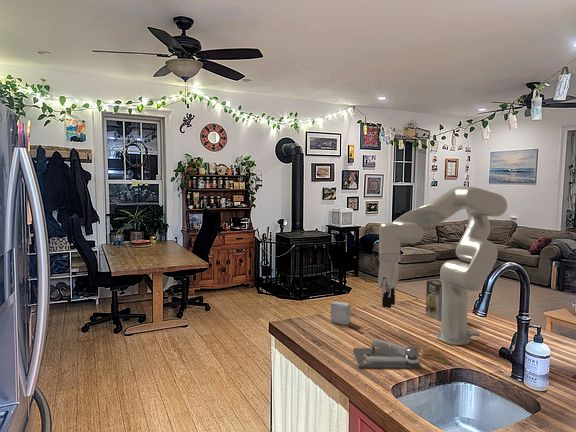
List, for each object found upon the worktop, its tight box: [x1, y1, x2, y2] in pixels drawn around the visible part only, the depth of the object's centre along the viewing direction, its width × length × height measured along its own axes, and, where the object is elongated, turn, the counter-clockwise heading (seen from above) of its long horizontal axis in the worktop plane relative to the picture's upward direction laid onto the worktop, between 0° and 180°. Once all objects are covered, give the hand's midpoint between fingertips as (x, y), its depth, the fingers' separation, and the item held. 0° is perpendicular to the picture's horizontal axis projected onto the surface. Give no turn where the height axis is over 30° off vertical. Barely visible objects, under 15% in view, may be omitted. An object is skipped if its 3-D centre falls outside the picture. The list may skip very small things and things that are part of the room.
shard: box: [419, 348, 451, 365], centre depth 145 cm, size 11×8×2 cm
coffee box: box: [425, 279, 442, 321], centre depth 189 cm, size 9×6×16 cm
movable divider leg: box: [370, 337, 420, 359], centre depth 144 cm, size 18×4×4 cm, turn 49°
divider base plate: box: [352, 347, 422, 369], centre depth 144 cm, size 21×14×3 cm, turn 89°
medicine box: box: [330, 301, 352, 326], centre depth 181 cm, size 8×4×9 cm, turn 58°
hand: (388, 305), depth 150 cm, fingers open, 3 cm apart
